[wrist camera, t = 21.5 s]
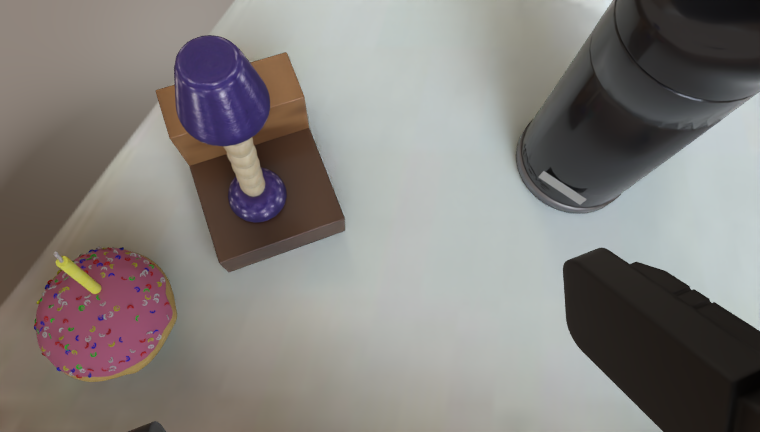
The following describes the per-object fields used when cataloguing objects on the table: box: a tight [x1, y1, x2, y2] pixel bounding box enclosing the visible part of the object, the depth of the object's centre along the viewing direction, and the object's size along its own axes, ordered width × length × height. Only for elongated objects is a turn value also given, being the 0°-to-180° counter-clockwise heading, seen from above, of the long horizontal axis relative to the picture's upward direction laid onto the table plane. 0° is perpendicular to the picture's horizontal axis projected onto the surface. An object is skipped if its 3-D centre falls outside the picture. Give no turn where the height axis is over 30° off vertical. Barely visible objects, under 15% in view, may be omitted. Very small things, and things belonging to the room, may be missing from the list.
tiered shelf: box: [156, 52, 345, 272], centre depth 39 cm, size 10×12×8 cm
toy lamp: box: [174, 35, 287, 223], centre depth 31 cm, size 5×5×17 cm
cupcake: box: [34, 247, 177, 382], centre depth 32 cm, size 9×8×12 cm
